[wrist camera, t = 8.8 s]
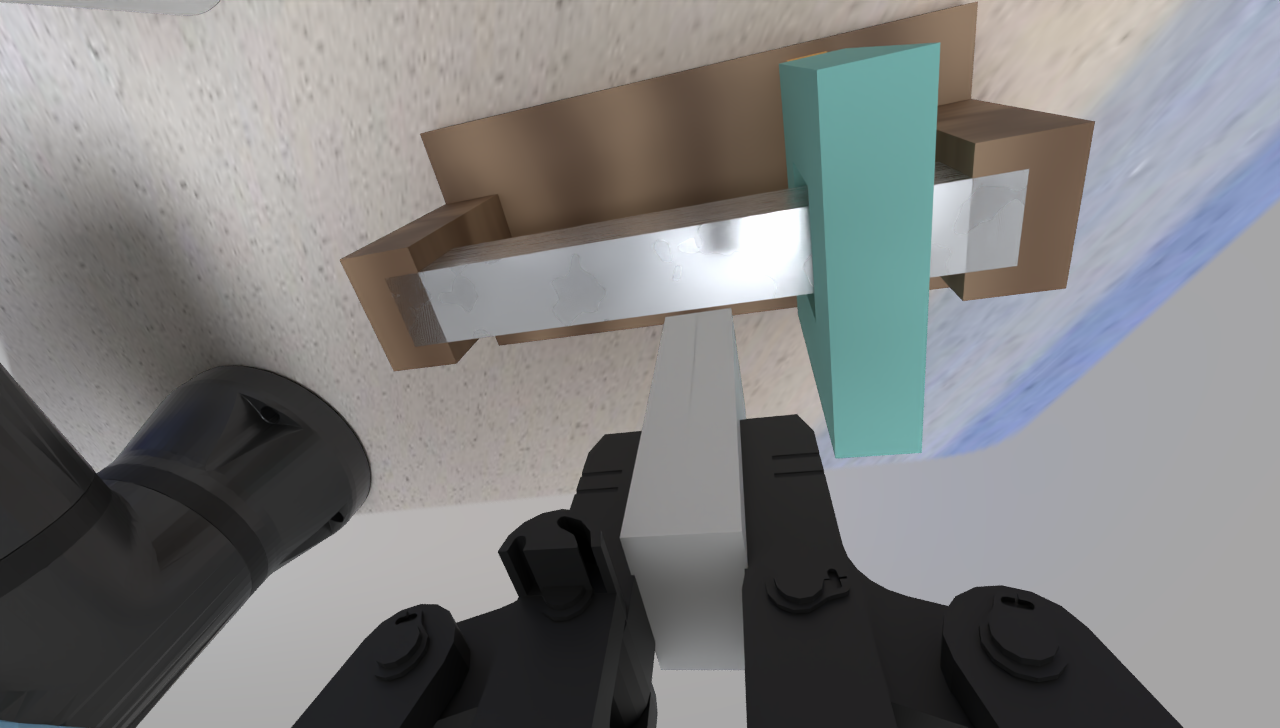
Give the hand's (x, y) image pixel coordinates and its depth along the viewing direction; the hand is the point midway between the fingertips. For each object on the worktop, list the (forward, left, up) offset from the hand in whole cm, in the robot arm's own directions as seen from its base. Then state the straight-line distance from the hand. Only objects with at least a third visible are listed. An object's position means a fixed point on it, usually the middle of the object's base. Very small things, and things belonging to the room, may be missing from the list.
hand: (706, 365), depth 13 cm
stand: (-2, 0, -17) cm, 17 cm away
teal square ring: (+4, 0, -14) cm, 15 cm away
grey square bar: (-2, 0, -10) cm, 10 cm away
